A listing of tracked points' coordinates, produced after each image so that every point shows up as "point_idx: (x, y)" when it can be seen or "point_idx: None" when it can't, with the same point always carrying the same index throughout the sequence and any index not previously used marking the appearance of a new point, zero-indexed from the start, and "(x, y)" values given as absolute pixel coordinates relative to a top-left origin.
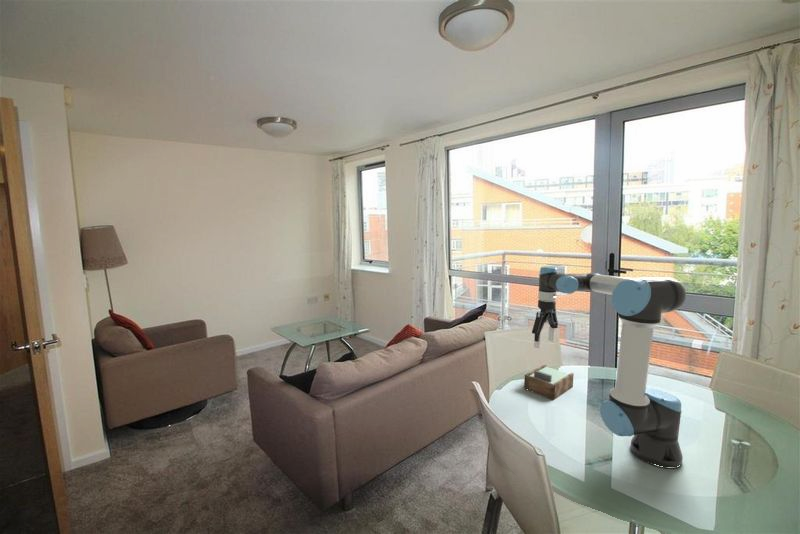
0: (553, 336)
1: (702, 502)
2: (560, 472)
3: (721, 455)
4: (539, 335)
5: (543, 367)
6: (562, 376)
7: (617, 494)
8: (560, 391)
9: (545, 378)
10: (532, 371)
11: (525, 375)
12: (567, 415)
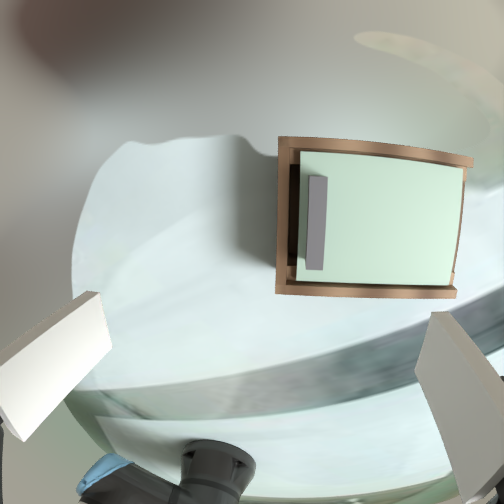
0: (434, 410)
1: (165, 478)
2: None
3: (295, 498)
4: (11, 420)
5: (445, 162)
6: (408, 273)
7: (92, 420)
8: None
9: (306, 239)
10: (351, 144)
11: (278, 141)
12: (220, 334)
